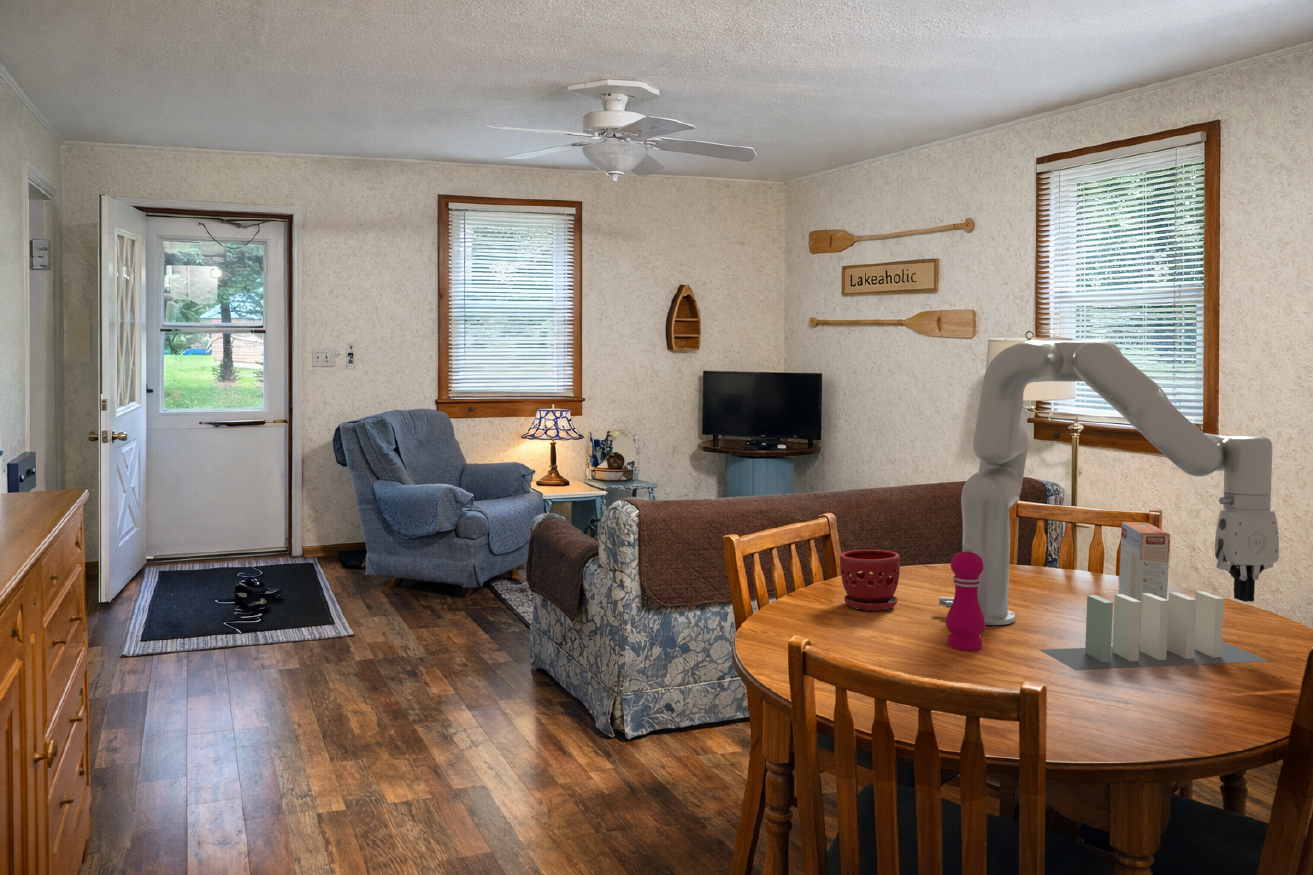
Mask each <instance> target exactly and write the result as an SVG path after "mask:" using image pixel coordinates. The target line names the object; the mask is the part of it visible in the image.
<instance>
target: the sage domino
mask: <svg viewBox="0 0 1313 875" xmlns="http://www.w3.org/2000/svg"><path fill="white" fill-rule="evenodd" d="M1113 617H1114V601H1110V600H1109V599H1106V598H1103V597H1101V596H1099V595H1096V594H1090V595H1089V594H1087V596H1086V620H1085V621H1086V622H1085V646H1084V648H1085V653H1086V654H1087V655H1089V656H1091V657H1093V658H1095V659H1097V660H1099V661H1101V662H1111V647H1112V642H1113Z"/></svg>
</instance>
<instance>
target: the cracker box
mask: <svg viewBox="0 0 1313 875" xmlns="http://www.w3.org/2000/svg"><path fill="white" fill-rule="evenodd" d="M1120 538H1121V541H1120V556H1119V557H1120V559H1119V560H1120V561H1119V580H1118V581H1119V582H1118V583H1119V584H1118V594H1123V595H1126V596H1129V597H1131V598H1134V599H1136V600H1139V601H1141V603H1142V593H1151V594H1153V595H1156V596H1159V597H1161V598H1164V599H1166V600H1168V599H1167V598H1168V584H1169V583H1168V582H1169V566H1170V565H1169V563H1170V550H1171V549H1170V548H1171V534H1170V533H1168V532H1167V531H1165V530H1163V529H1161V528H1159V527H1158V526H1155V525H1154V524H1152V523H1149V522H1144V521H1143V522H1142V521H1141V522H1138V521H1137V522H1135V521H1133V522H1132V521H1122V523H1121V536H1120ZM1140 626H1141V615H1140Z"/></svg>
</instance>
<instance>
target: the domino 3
mask: <svg viewBox="0 0 1313 875" xmlns="http://www.w3.org/2000/svg"><path fill="white" fill-rule="evenodd" d="M1168 600H1169V612H1168V633H1167V650H1168V651H1170V652H1172V653H1174V654H1177V655H1179V656H1181V657H1183V658H1185V659H1190V658H1194V645H1195V624H1196V603H1197V599H1195V597H1194V598H1193V597H1191V596H1189V595H1185V594H1183V593H1181V592H1176V591H1174V592H1168Z"/></svg>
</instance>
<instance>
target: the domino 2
mask: <svg viewBox="0 0 1313 875" xmlns="http://www.w3.org/2000/svg"><path fill="white" fill-rule="evenodd" d="M1168 612H1169V599H1167V600H1166V599H1164V598H1161V597H1159V596H1156V595H1153V594H1151V593H1142V603H1141V626H1140V639H1139V645H1140V649H1139V651H1141V652H1143V653H1145V654H1147V655H1149V656H1151V657H1153V658H1155V659H1157V660H1166V655H1167V633H1168Z"/></svg>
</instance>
